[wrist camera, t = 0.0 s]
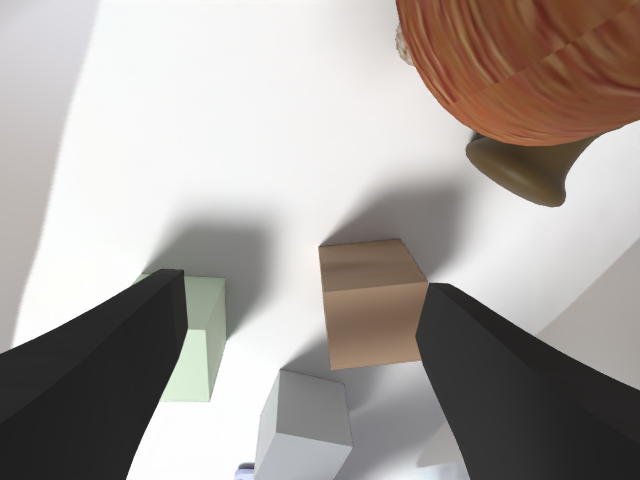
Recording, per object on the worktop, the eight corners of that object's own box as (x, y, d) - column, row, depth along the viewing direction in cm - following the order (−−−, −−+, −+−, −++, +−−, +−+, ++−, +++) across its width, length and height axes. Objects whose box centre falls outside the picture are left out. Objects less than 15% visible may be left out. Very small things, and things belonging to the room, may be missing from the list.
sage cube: (226, 340, 23) (209, 402, 19) (150, 337, 23) (114, 400, 18) (225, 277, 21) (205, 330, 17) (141, 273, 21) (98, 326, 16)
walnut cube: (398, 305, 23) (422, 360, 18) (324, 312, 23) (330, 370, 18) (399, 238, 21) (428, 281, 16) (318, 246, 21) (324, 292, 16)
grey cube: (320, 426, 28) (324, 494, 23) (260, 414, 27) (252, 482, 22) (343, 382, 26) (353, 447, 21) (279, 368, 25) (275, 432, 20)
